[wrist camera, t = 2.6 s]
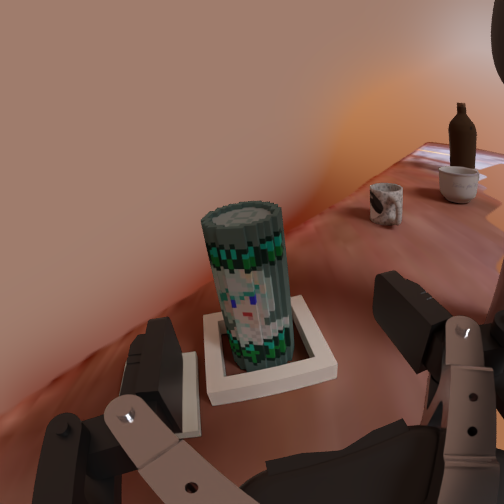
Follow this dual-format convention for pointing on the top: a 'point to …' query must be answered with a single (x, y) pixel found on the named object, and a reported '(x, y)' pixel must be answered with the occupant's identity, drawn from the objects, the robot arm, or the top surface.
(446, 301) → the top surface
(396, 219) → the mug
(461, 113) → the olive oil
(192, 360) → the white rectangular plate
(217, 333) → the well rim
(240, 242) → the can
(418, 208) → the top surface
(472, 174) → the teacup
